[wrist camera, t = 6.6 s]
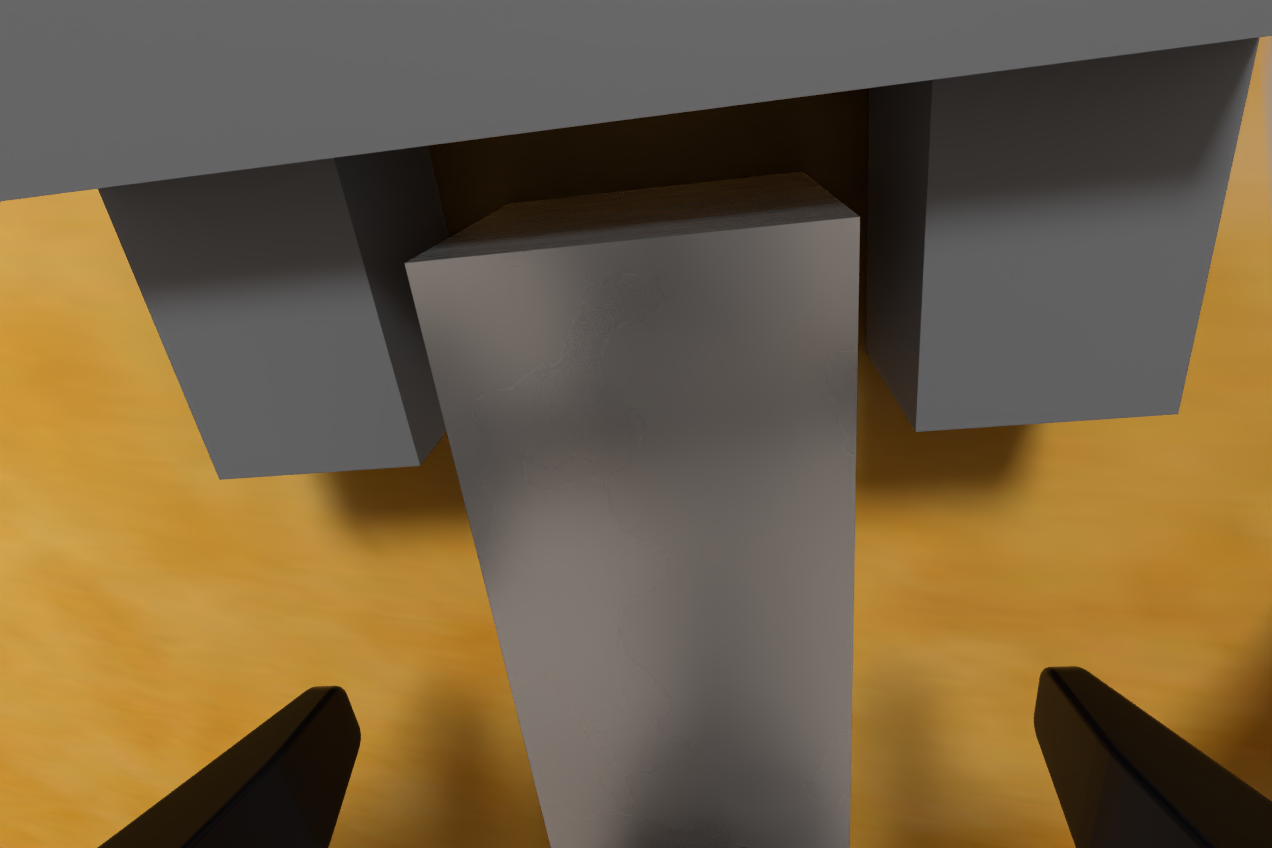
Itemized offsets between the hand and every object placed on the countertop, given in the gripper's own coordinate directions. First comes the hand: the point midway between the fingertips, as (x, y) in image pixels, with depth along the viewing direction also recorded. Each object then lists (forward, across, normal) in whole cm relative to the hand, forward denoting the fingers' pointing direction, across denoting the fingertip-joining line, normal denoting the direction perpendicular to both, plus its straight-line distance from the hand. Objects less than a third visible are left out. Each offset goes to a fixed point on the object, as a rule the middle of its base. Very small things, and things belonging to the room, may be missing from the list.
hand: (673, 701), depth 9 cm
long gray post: (+5, 0, 0) cm, 5 cm away
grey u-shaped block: (+4, 0, -6) cm, 7 cm away
